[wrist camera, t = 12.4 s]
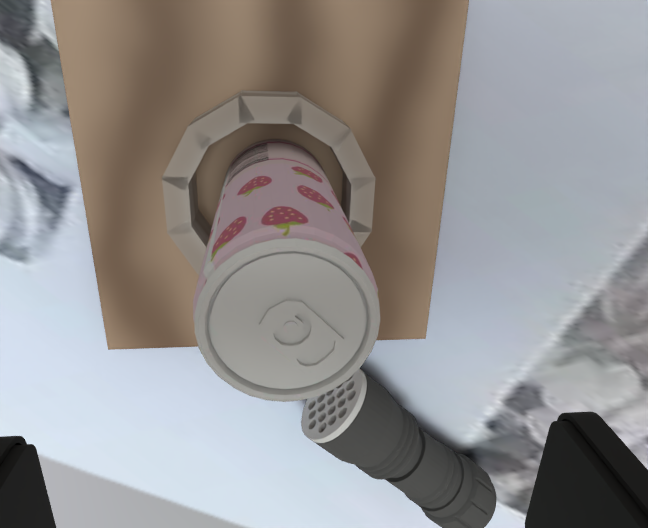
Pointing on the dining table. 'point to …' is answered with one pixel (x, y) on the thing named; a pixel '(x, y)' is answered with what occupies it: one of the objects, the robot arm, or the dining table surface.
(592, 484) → the robot arm
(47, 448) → the dining table surface
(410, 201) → the socket board
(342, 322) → the beverage can
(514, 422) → the dining table surface
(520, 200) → the dining table surface
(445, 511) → the flashlight
